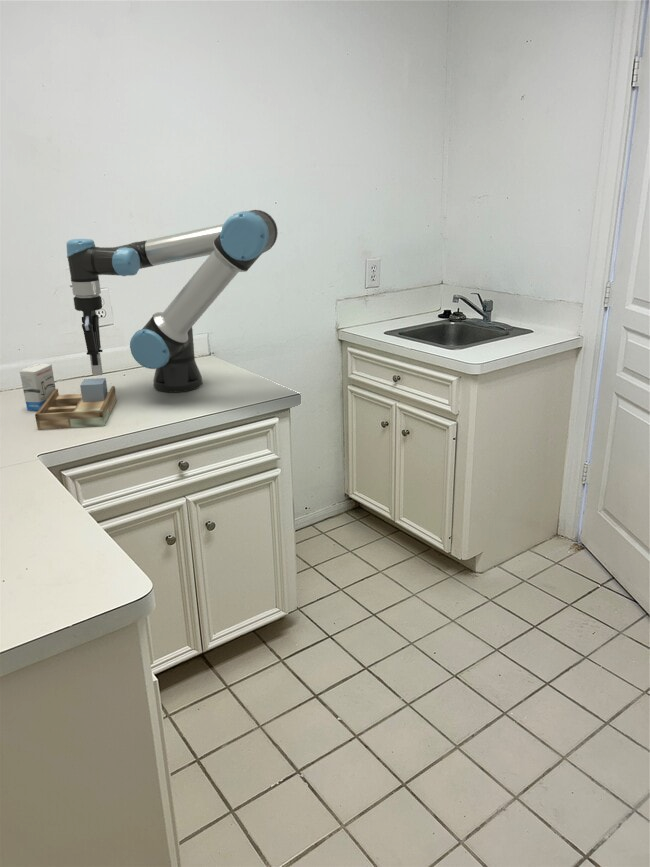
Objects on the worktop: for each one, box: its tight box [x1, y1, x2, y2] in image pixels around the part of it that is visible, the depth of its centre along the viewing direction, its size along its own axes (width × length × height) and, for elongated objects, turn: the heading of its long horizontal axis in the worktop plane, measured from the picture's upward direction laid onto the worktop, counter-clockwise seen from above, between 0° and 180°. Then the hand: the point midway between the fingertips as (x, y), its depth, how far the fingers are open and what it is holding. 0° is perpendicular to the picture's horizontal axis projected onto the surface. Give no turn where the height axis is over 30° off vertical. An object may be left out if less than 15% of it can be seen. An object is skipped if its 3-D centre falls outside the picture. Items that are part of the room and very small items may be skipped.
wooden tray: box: [34, 385, 117, 430], centre depth 180 cm, size 17×22×4 cm
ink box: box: [19, 363, 57, 412], centre depth 185 cm, size 9×5×12 cm, turn 168°
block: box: [79, 377, 109, 402], centre depth 185 cm, size 6×6×5 cm
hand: (97, 374), depth 192 cm, fingers closed
